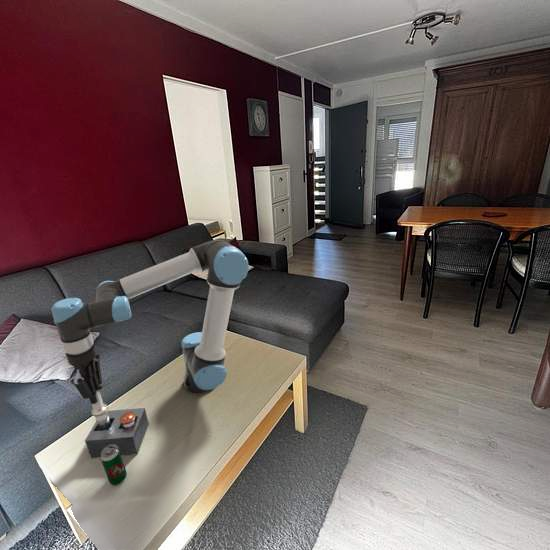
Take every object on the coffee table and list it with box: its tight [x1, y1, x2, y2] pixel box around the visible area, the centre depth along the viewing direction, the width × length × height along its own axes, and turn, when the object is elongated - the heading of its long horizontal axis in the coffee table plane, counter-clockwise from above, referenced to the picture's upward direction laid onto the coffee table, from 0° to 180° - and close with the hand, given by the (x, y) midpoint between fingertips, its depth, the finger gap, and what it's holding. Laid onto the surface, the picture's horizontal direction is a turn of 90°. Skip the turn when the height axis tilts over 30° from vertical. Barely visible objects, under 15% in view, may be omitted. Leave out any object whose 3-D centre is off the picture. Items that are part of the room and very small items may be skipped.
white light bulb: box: [90, 402, 111, 431], centre depth 101 cm, size 5×5×8 cm
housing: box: [84, 407, 150, 459], centre depth 104 cm, size 15×12×8 cm
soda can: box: [99, 444, 128, 486], centre depth 91 cm, size 5×5×12 cm
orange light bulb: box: [120, 412, 135, 429], centre depth 104 cm, size 5×5×8 cm
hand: (98, 407), depth 100 cm, fingers closed
